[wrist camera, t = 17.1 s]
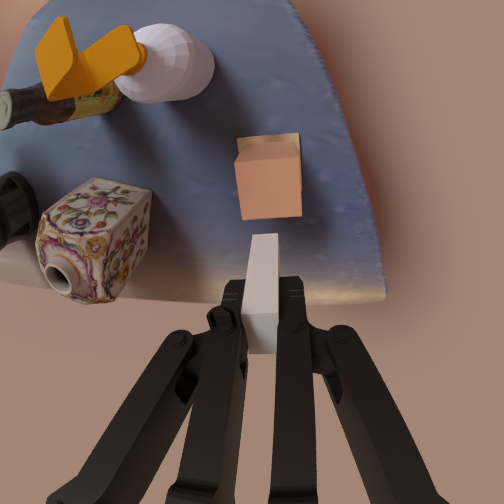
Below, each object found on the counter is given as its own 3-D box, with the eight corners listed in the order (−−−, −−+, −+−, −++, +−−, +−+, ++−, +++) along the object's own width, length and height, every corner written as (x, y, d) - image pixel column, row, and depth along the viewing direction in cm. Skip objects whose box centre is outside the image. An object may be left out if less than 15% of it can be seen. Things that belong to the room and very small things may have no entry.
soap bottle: (225, 84, 30) (135, 67, 9) (163, 110, 32) (26, 153, 11) (202, 28, 25) (96, -44, 5) (142, 58, 28) (-2, 50, 7)
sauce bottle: (133, 89, 30) (29, 104, 14) (107, 120, 33) (7, 158, 16) (108, 64, 28) (3, 69, 11) (84, 95, 30) (-17, 120, 14)
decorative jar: (93, 235, 44) (36, 298, 29) (92, 175, 38) (17, 227, 22) (149, 252, 45) (102, 328, 30) (155, 190, 39) (91, 255, 23)
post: (244, 193, 38) (238, 214, 32) (237, 137, 34) (228, 148, 28) (301, 189, 37) (307, 210, 31) (298, 133, 33) (304, 141, 27)
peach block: (250, 188, 37) (242, 220, 29) (244, 144, 34) (234, 162, 25) (295, 185, 36) (302, 216, 28) (292, 141, 33) (298, 157, 24)
